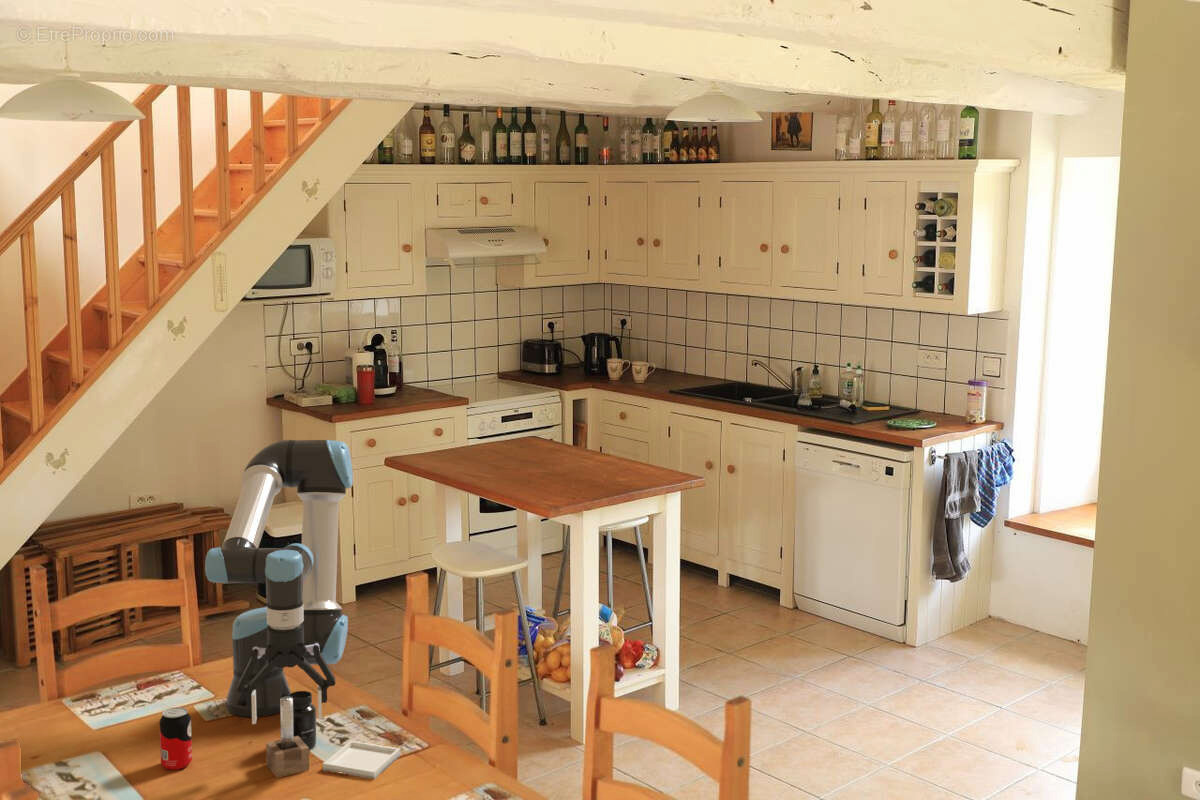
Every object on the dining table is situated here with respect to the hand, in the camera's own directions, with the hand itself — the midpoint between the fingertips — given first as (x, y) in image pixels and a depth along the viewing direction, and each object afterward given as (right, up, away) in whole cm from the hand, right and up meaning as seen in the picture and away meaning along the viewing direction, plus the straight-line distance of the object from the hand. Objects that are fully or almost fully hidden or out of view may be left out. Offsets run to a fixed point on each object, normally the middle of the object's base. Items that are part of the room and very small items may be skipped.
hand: (287, 719), depth 255 cm
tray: (+15, -11, +4) cm, 19 cm away
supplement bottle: (0, -9, +12) cm, 15 cm away
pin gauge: (0, -9, +1) cm, 9 cm away
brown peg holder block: (0, -11, +1) cm, 11 cm away
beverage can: (-24, -10, +1) cm, 26 cm away
